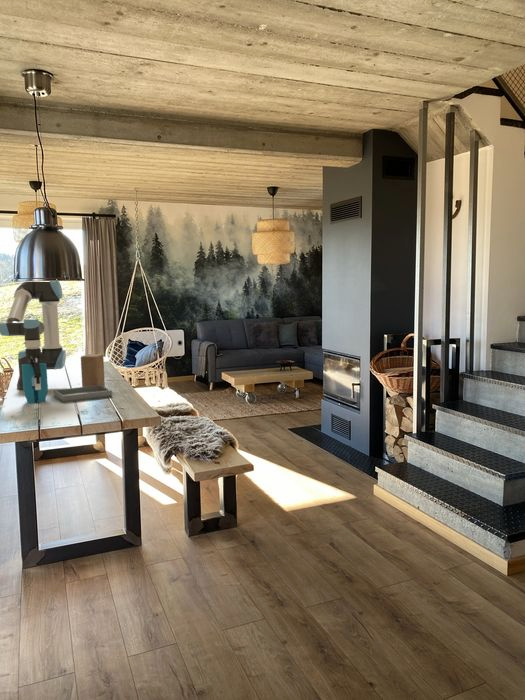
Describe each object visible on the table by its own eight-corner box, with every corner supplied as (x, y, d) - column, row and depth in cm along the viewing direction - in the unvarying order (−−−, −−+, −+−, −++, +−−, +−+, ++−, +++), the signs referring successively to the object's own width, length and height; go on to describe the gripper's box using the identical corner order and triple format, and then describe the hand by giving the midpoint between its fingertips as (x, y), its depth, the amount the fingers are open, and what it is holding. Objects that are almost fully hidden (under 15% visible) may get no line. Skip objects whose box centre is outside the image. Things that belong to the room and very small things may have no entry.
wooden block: (97, 390, 325) (95, 356, 323) (81, 389, 327) (79, 356, 325) (105, 387, 335) (103, 354, 332) (90, 386, 337) (88, 353, 334)
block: (48, 399, 301) (45, 362, 299) (48, 401, 297) (46, 364, 294) (23, 401, 296) (21, 364, 294) (24, 403, 292) (21, 365, 289)
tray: (54, 396, 309) (53, 390, 309) (100, 390, 323) (100, 385, 323) (63, 402, 292) (63, 396, 292) (112, 396, 307) (111, 390, 306)
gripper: (20, 346, 301) (23, 385, 303) (30, 350, 280) (32, 392, 283) (35, 345, 305) (37, 383, 308) (45, 349, 285) (48, 390, 287)
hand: (35, 387), depth 295 cm, fingers open, 13 cm apart
